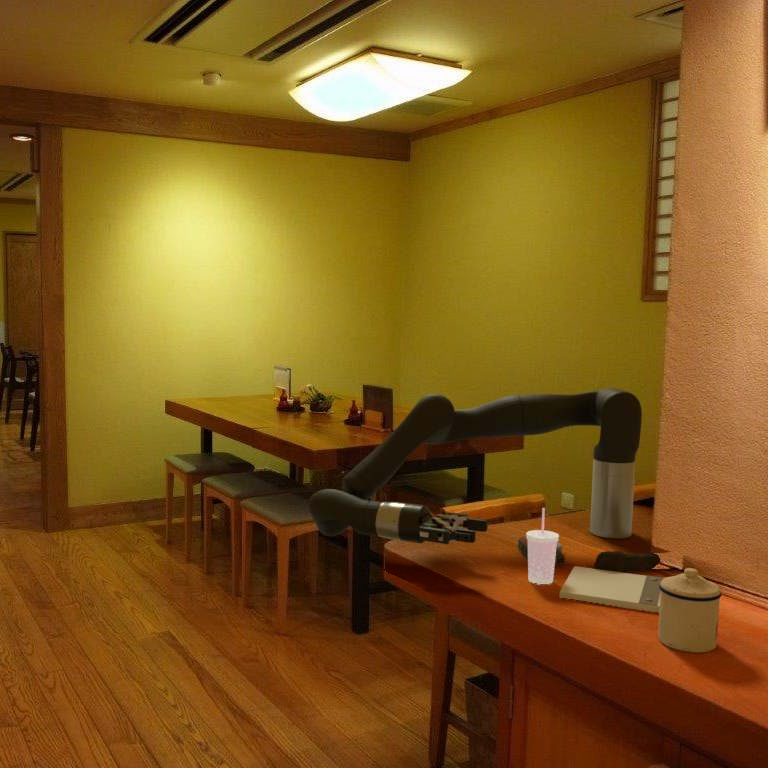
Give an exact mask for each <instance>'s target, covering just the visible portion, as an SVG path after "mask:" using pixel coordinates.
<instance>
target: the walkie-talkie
mask: <svg viewBox="0 0 768 768" xmlns="http://www.w3.org/2000/svg"><path fill="white" fill-rule="evenodd" d="M526 537H527V536H521V537H519V538H518V542H517V549H518V551H519V550H520V551H521V552H520V551H519V552H520V553H521V554H522V556H523V557H524V556H525V557H526V558H525V557H524V558H525V559H526V560H527V561H528V539H527V538H526ZM561 563H562V564H565V563H566V559H565V557H563V545H562V544H561V543H560V541H559V540H558V541H557V548H556V557H555V564H560V565H562V564H561Z"/></svg>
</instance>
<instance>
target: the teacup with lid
mask: <svg viewBox="0 0 768 768" xmlns="http://www.w3.org/2000/svg"><path fill="white" fill-rule="evenodd" d="M683 572H684V573H679V574H677V575H673V576H667V577H664V578H665V579H663V580H662V581H661V583H660V585H659V588H660V590H661V593H660V611H659V613H658V614H659V615H658V633H657V635H658V639H659V642H661V643H662V644H664V646H667V647H668V648H672V649H673V650H677V651H681V652H684V653H697V654H700V653H703V654H704V653H707V652H711V651H713V650H715V648H717V645H718V644H717V643H718V631H719V629H718V628H719V614H720V613H719V612H720V599H721V597H722V591H721V590H722V589H720V587H719V586H718V585H717V584H716V583H714V582H712V581H710V580H707V579H706V578H704V577H703V576H701V575H698V574H699V571H698V570H697V569H695V568H693V567H692V568H691V567H687V568H685V569H684V570H683Z"/></svg>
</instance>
